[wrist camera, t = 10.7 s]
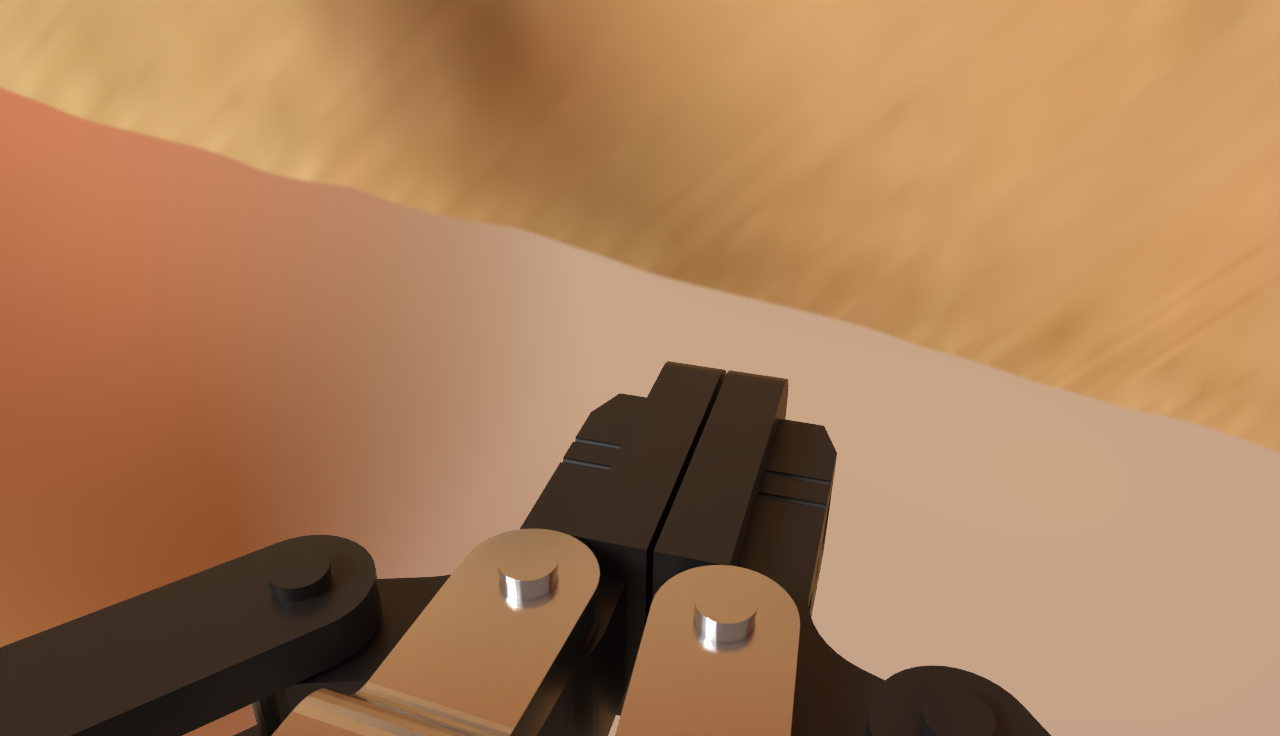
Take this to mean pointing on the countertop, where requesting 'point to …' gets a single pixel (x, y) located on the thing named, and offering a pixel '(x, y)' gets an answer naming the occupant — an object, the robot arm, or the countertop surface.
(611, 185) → the countertop surface
